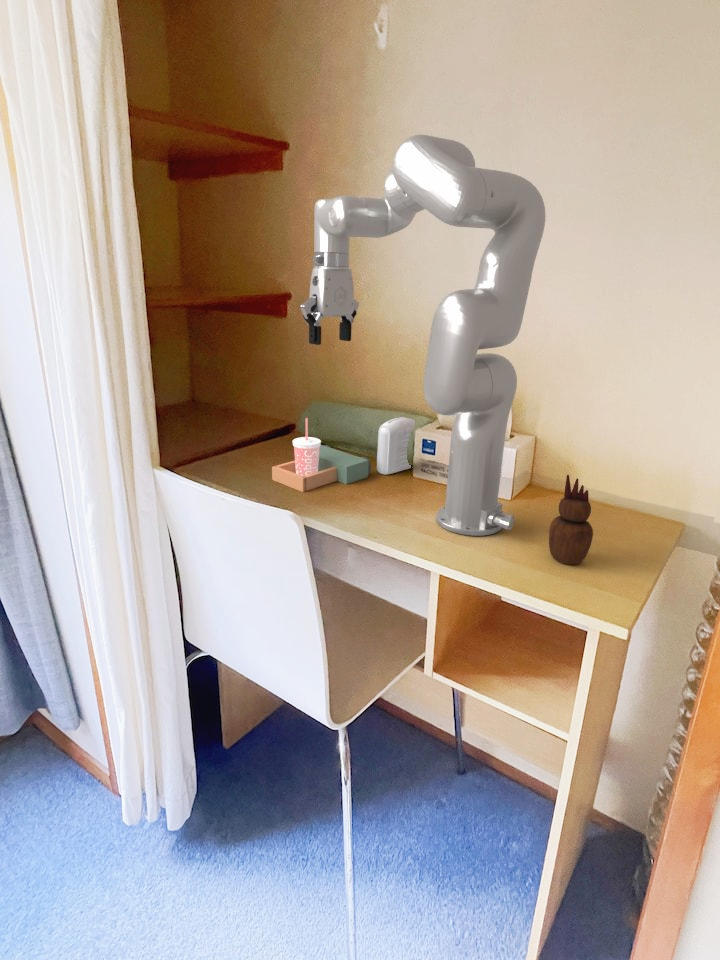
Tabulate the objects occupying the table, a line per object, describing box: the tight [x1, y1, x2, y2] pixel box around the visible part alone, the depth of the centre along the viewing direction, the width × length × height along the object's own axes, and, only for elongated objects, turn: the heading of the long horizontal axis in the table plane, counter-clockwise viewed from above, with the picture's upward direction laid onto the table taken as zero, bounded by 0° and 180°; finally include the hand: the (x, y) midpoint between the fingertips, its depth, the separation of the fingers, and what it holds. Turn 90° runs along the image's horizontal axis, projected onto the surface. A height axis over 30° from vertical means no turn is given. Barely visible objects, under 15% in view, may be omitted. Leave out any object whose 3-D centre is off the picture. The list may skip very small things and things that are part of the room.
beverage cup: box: [291, 417, 322, 476], centre depth 134 cm, size 6×6×14 cm
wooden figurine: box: [548, 474, 594, 566], centre depth 101 cm, size 7×6×15 cm
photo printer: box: [376, 416, 416, 475], centre depth 142 cm, size 10×4×12 cm, turn 134°
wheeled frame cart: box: [271, 444, 372, 493], centre depth 138 cm, size 16×18×4 cm
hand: (330, 342), depth 139 cm, fingers open, 9 cm apart
